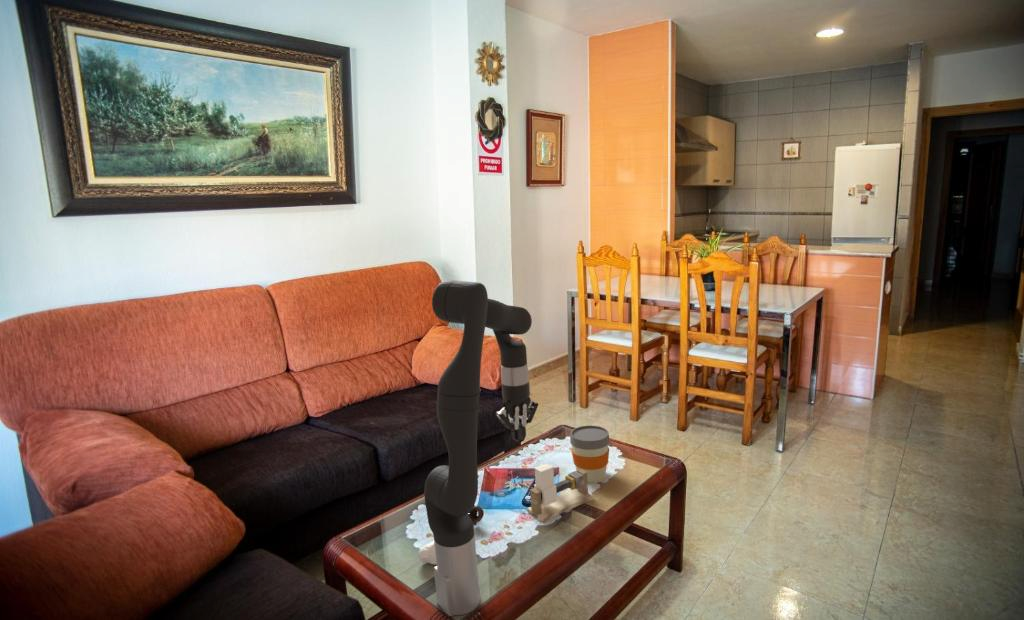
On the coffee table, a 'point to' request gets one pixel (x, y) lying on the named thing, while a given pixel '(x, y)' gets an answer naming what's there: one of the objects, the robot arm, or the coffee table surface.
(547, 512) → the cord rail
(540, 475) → the cream upright block
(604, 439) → the reusable coffee cup
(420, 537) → the coffee table surface
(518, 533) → the coffee table surface
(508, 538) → the coffee table surface
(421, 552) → the duck figurine
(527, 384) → the robot arm
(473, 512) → the pottery mug
